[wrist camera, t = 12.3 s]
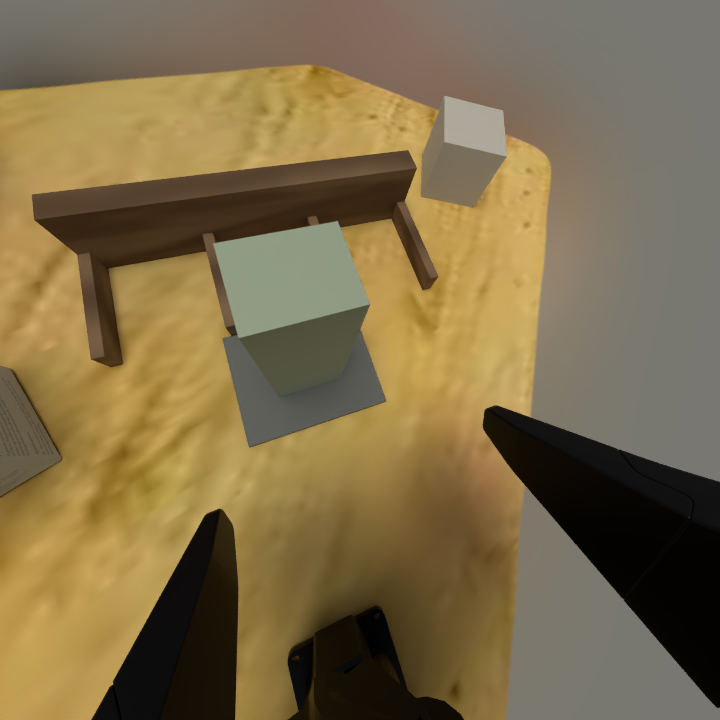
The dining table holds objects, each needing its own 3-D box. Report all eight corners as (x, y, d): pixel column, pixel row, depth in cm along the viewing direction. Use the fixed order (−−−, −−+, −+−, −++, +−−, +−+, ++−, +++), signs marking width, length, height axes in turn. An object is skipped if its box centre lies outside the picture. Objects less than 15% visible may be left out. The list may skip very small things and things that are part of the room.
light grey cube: (420, 197, 31) (444, 141, 25) (421, 156, 33) (444, 95, 27) (472, 208, 32) (507, 156, 26) (471, 167, 34) (503, 110, 28)
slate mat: (385, 401, 24) (386, 400, 24) (250, 447, 21) (249, 447, 21) (351, 308, 26) (351, 306, 26) (223, 340, 23) (222, 338, 23)
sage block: (340, 378, 24) (369, 304, 11) (279, 397, 22) (238, 338, 10) (325, 334, 24) (337, 220, 12) (265, 350, 23) (213, 243, 11)
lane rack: (429, 288, 28) (456, 251, 23) (110, 366, 22) (45, 341, 16) (391, 201, 30) (408, 150, 25) (93, 249, 24) (31, 194, 19)
